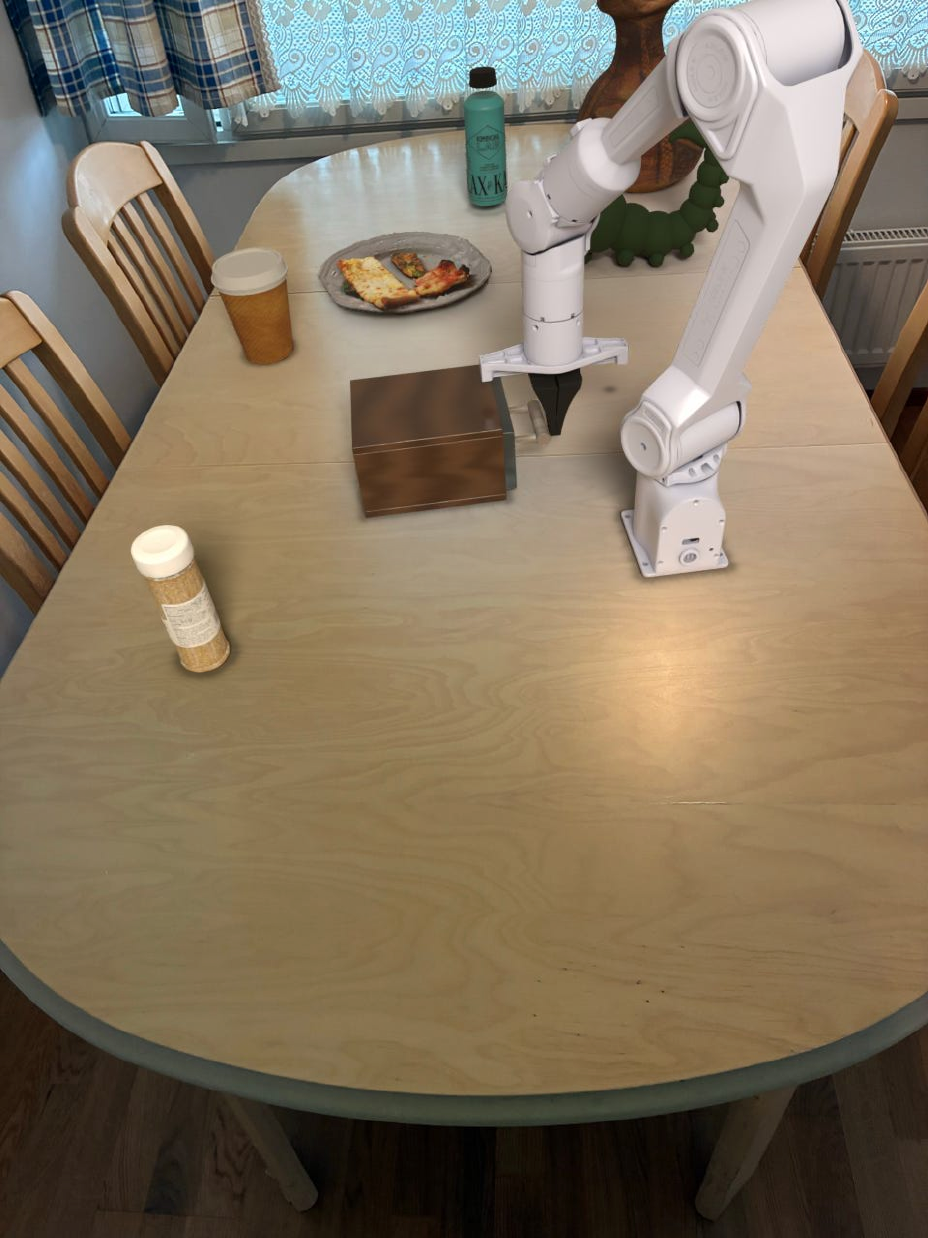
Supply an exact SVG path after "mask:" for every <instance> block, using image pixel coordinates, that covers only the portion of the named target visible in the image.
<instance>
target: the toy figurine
mask: <svg viewBox="0 0 928 1238" xmlns="http://www.w3.org/2000/svg"><path fill="white" fill-rule="evenodd" d="M681 138H685V139H689V140H691V141H693V142H694V143H695V144H696V145H697V146H699V147H701V148H704V150H703V160H702V161H701V163H700V164H698V166H697V170H696V181H694V182H693V183H692V185H690V188H689V191H688V198H687V199H685V200H684V201H683V202H682V203H681V205H680V207H679V209H676V210H673V211H670V212H669V213H668V212H667V211H664V210H652V211H649V209H647V208H646V207H645V206H644V205H642V204H640V203H638V202H637V203H636V202H627V200H626V198H625V196H624V193H622V194H621V195H620V196H619V197H618V198H616V199H615V200H614V201H613V202H612V203H611V204H610V205H608V206H607V207H606V208H605V209H604V210H603V211H601V212H600V218H599V221H598V224H597V226H596V228H595V229H594V230H593V232H592V234H591V237H590V250H588V252H587V253H586V255H585V256H584V265H586V264H587V263H588V262H590V261H591V260H592V258H593V254H598V253H603V252H605V251H607V250H609V249H611V250H612V251H613V252H614V253H616V261H617V264H620V265H621V266H622V267H627V266H630V265H631V264H632V263H633V262H634V261H635V259H636V258H635V255H638V254H641V255H642V256H644V257H646V258H648V262H649V264H650V265H651V267H655V268H658V267H660V266H663V264H664V261H665V257H664V256H667V255H668V254H670V253H671V252H672V251H679V255H680V256H681V257H683V258H684V259H688V258H691V257H692V256H693V254H694V253H695V245H694V243H692V242H693V241H694V240H695V238H696V236H697V234H698V233H701V232H703V231H704V230H706V231H707V233H715V232H716V231H717V230H719V225H720V223H719V221H718V220H717V214H716V213H715V211H714V209H715V208H720V209H721V208H722V207H723V206H724V204H725V201H726V200H725V198H724V197H723V196H722V188H721V186H722V185H724V184H727V183H728V182H729V180H730V177H728V176H727V175H726V173H725V172H724V170H723V168H722V167H721V165H720V164H719V162H718V160H717V159H716V157H715V156H714V154H713V152H712V151H711V149H710V148H709V146H708V145H707V143H706V141H705V140H704V138H703V137H702V135H701V133H700V132H699V130H698V129H697V127H696V125H695V124H694V122H688V123H684V124H682V125H681V126H679V127H678V128H676V129H675V130H674V131H673V132H672V133H671V134H670V136H669V138H668V142H669V143H672V142H674V141H675V140H677V139H681Z"/></svg>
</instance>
